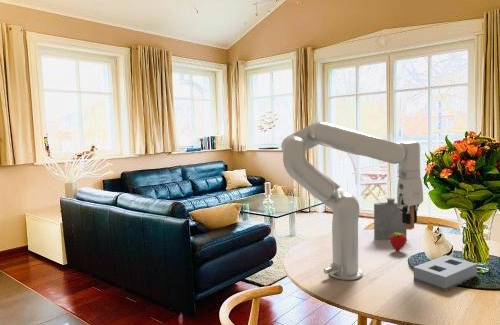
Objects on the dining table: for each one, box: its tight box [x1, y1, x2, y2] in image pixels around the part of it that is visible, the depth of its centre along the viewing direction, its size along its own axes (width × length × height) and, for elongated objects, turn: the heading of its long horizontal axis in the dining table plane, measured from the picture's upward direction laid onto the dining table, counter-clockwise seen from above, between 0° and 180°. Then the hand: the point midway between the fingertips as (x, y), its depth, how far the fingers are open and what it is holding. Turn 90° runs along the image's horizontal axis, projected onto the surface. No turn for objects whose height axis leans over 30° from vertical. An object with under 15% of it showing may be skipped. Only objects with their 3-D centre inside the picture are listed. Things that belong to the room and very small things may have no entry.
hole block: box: [413, 254, 478, 292], centre depth 143 cm, size 20×12×5 cm, turn 123°
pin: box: [405, 205, 415, 230], centre depth 149 cm, size 3×3×9 cm
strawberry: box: [389, 232, 408, 252], centre depth 173 cm, size 6×8×10 cm
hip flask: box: [373, 197, 407, 241], centre depth 192 cm, size 16×4×20 cm, turn 93°
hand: (409, 222), depth 149 cm, fingers closed on pin, 3 cm apart
